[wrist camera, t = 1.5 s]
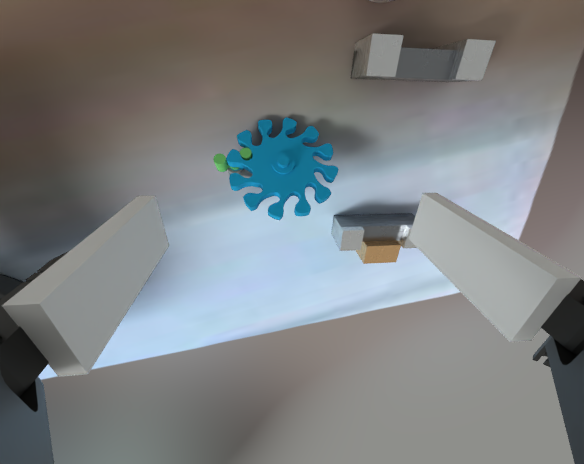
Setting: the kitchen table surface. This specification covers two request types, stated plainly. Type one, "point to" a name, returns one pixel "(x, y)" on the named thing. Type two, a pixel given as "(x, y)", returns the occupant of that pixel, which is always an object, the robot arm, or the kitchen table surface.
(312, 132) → the gear
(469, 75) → the support blocks
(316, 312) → the kitchen table surface
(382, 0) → the plastic bottle
